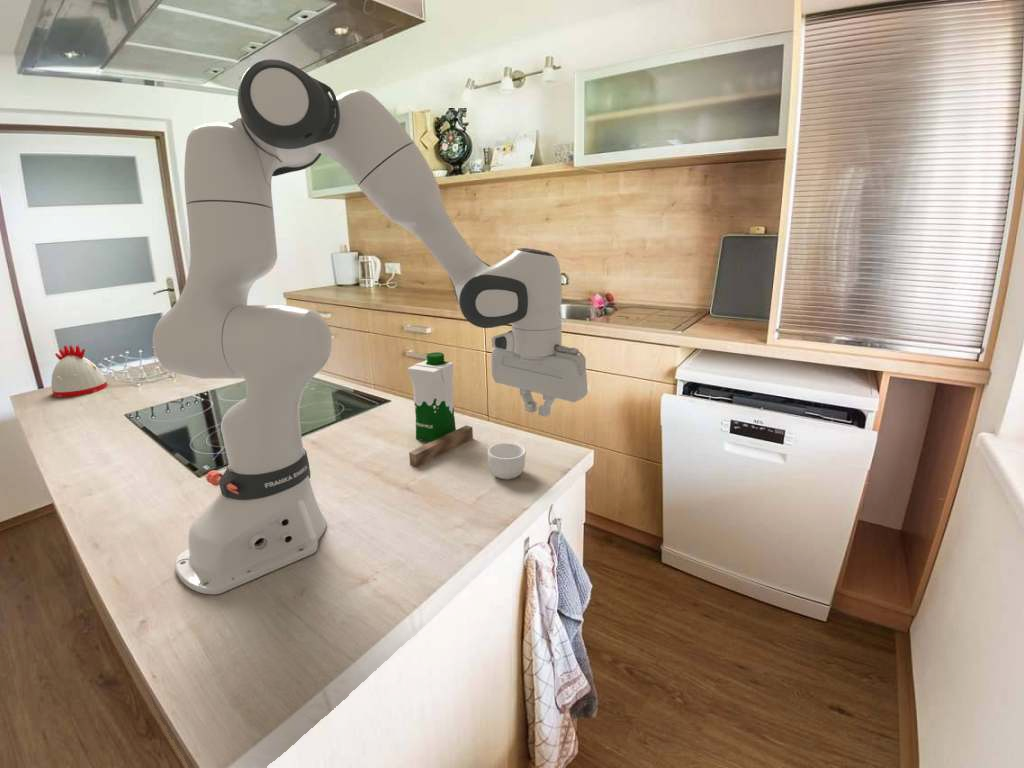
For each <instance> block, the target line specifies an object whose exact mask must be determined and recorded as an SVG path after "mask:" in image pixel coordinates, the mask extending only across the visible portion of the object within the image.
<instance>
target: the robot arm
mask: <svg viewBox="0 0 1024 768" xmlns="http://www.w3.org/2000/svg"><path fill="white" fill-rule="evenodd" d="M329 93H330V94H329ZM237 106H238V110H239V113H240V116H241V117H238V118H236V119H235V120H234V121H231V122H228V123H225V122H224V123H223V122H209V123H203V124H201V125H198V126H197V127H195V128H194V129H192V130H191V131H190V133H189V134H188V136H187V139H186V146H185V153H184V166H183V167H184V169H183V170H184V171H183V172H184V178H183V179H184V180H183V181H184V197H185V205H186V206H185V207H186V217H187V223H188V224H187V226H188V237H189V256H190V258H189V267H188V274H187V278H186V281H185V284H184V287H183V289H182V292H181V294H180V296H179V297H178V299H177V301H176V302H175V304H173V306H172V307H171V308H170V309H169V310H168V311H167V312H165V314H163V315H162V316H161V317H160V318H159V320H158V321H157V322H156V325H155V327H154V330H153V333H152V347H153V352H154V354H155V357H156V359H157V361H159V363H160V364H161V366H162V367H163V368H165V369H166V370H167V371H168V372H170V373H173V374H178V375H182V376H186V377H191V378H198V379H203V380H204V379H205V380H206V379H207V380H212V379H215V380H216V379H217V380H218V379H219V380H220V379H232V380H233V379H237V380H238V379H242V380H245V384H246V397H245V398H243V399H241V400H240V401H238V402H236V403H235V404H234V405H232V406H231V407H229V409H228V410H227V411H226V412H225V414H224V416H223V417H222V420H221V424H220V431H221V434H222V435H221V436H222V440H223V444H224V448H225V453H226V458H227V462H228V464H227V467H226V470H225V471H224V472H223V473H220V472H219V471H218V470H214V469H213V470H210V471H209V472H207V474H206V475H205V480H206V482H207V483H209V484H211V485H212V486H217V487H218V486H219V489H220V493H219V494H218V495H216V497H215V498H214V500H212V502H211V503H210V504H209V505H208V506H207V507H206V508H205V510H204V511H203V512H202V513H201V514H199V516H198V517H197V518H196V519H195V520H194V521H193V522H192V524H191V526H190V528H189V533H188V548H187V549H186V550H184V551H182V552H181V553H180V554H178V555H177V557H176V560H175V565H174V566H175V571H176V575H177V577H178V578H179V580H180V581H181V582H182V583H183V584H184V585H186V586H187V588H189V589H191V590H193V591H195V592H197V593H200V594H206V595H220V594H222V593H225V592H228V591H229V590H232V589H234V588H236V587H237V588H238V587H239V586H241V585H244V584H246V583H248V582H250V581H253V580H255V579H257V578H259V577H262V576H264V575H266V574H269V573H271V572H273V571H275V570H279V569H280V568H284V567H285V566H288V565H290V564H292V563H294V562H297V561H299V560H301V559H304V558H306V557H308V556H311V555H313V554H314V553H316V552H317V550H318V549H319V548H318V547H319V540H320V538H321V537H322V535H323V534H324V532H325V531H326V527H327V520H326V518H325V516H324V515H323V512H322V511H321V510H320V507H319V505H318V503H317V502H318V501H317V500H316V496H315V493H314V491H313V488H312V483H311V480H310V479H311V469H310V463H309V462H310V461H309V457H308V453H307V449H305V448H304V445H303V440H302V439H303V437H302V430H301V422H300V421H301V420H300V404H301V401H302V396H303V393H304V391H305V388H306V387H307V385H308V384H309V382H310V381H311V380H312V378H313V377H315V376H316V375H317V374H318V373H319V372H321V371H322V370H323V368H324V367H325V366H326V365H327V363H328V361H329V360H330V358H331V354H332V350H333V336H332V332H331V330H330V329H331V328H330V326H329V325H328V323H327V321H326V320H325V318H324V317H323V316H322V315H321V314H320V313H319V312H318V311H316V310H314V309H309V308H304V307H298V306H293V305H288V304H263V305H262V304H257V305H256V304H254V305H252V304H251V305H248V298H249V297H248V296H249V293H250V290H251V289H252V287H253V285H254V283H255V282H256V281H257V280H259V279H261V278H262V277H264V276H266V275H268V273H270V272H271V271H272V270H273V269H274V267H275V265H276V262H277V259H278V247H277V239H276V238H277V237H276V228H275V216H274V206H273V196H272V178H273V177H277V176H281V175H285V174H289V173H293V172H298V171H302V170H305V169H308V168H309V167H312V166H314V165H315V163H316V162H317V161H318V160H319V159H320V157H321V156H322V155H323V156H326V157H329V158H330V159H333V160H334V161H336V162H337V163H338V164H339V165H341V166H342V167H343V168H344V169H345V170H346V171H347V172H348V174H349V175H350V177H351V179H352V180H353V181H354V182H355V184H356V185H357V186H358V187H359V189H360V190H361V192H363V194H364V195H365V196H366V197H367V199H368V200H369V201H370V202H371V203H372V204H373V205H374V206H375V207H376V209H378V210H379V212H381V213H382V214H383V215H385V216H386V217H387V218H388V219H389V220H390V221H391V222H393V223H394V224H397V225H398V226H400V227H402V228H403V229H405V230H407V231H408V232H410V233H411V234H412V235H413V236H415V237H416V238H418V240H420V241H421V242H422V243H423V245H424V246H425V247H426V248H427V249H428V250H429V252H430V253H431V254H432V256H433V257H434V259H435V260H436V261H437V263H438V264H439V265H440V266H441V267H442V269H443V270H444V271H445V273H446V274H447V276H448V277H449V279H450V280H451V282H452V285H453V291H454V296H455V298H456V301H457V304H458V306H459V308H460V311H461V313H462V316H463V318H465V319H466V321H467V322H469V324H471V325H473V326H474V327H478V328H482V329H491V328H496V327H502V326H506V325H510V324H511V327H512V328H511V330H509V331H507V332H504V333H500V334H496V335H495V336H493V337H491V347H492V348H494V349H492V352H491V360H490V363H491V365H490V366H491V367H490V368H491V376H492V378H493V380H494V381H495V383H498V384H501V385H505V386H508V387H512V388H517V389H519V395H520V396H521V399H522V401H523V402H524V410H525V412H528V413H534V412H536V411H537V409H538V415H539V416H542V417H548V416H550V415H551V406H552V405H553V403H554V402H555V400H556V399H559V400H563V401H567V402H570V403H576V402H579V401H581V400H583V399H584V398H585V397H586V396H587V395H588V377H587V367H586V365H587V363H586V361H587V360H586V357H585V355H584V354H583V353H582V352H581V351H580V350H579V349H578V348H576V347H568V346H565V345H562V343H563V341H562V336H563V335H562V332H563V331H562V330H563V327H562V326H563V325H562V319H561V315H560V309H561V305H562V300H563V297H562V296H563V295H562V289H563V288H562V287H563V285H562V273H561V266H560V262H559V260H558V258H557V257H556V255H554V254H552V253H550V252H548V251H544V250H540V249H535V248H527V247H524V248H523V247H520V248H517V249H514V251H513V252H511V254H509V255H508V256H507V257H505V258H503V259H502V260H500V261H498V262H496V263H494V264H493V265H490V264H489V263H487V262H485V261H483V260H482V259H481V258H480V257H478V256H477V254H476V253H475V252H474V250H472V248H471V247H470V246H469V244H468V243H467V242H466V240H465V239H464V237H463V236H462V234H461V233H460V231H459V230H458V229H457V227H456V226H455V225H454V223H453V221H452V219H451V218H450V216H449V215H448V214H449V213H448V212H447V210H446V207H445V205H444V204H445V203H444V201H443V198H442V193H441V190H440V189H441V188H440V187H439V184H438V181H437V179H436V177H435V175H434V173H433V170H432V169H431V167H430V164H429V163H428V161H427V159H426V158H425V156H424V155H423V152H422V151H421V150H420V148H419V147H418V146H417V144H416V143H415V141H414V140H413V139H412V138H411V135H409V134H408V131H406V130H405V128H404V127H403V126H402V125H401V123H400V122H399V121H398V120H397V119H396V118H395V116H394V115H393V114H392V113H391V112H390V111H389V110H388V109H387V108H386V107H385V105H383V104H382V103H381V102H380V101H379V100H378V99H377V97H375V96H374V95H373V94H371V93H370V92H368V91H365V90H361V89H353V90H348V91H346V92H343V93H341V94H340V95H338V96H336V94H335V91H334V89H332V88H331V86H329V85H328V84H326V83H324V82H322V81H319V79H316V78H314V77H313V76H311V75H309V74H308V73H307V72H305V71H304V70H302V69H300V68H299V67H298V66H295V65H294V64H292V63H289V62H286V61H283V60H280V59H272V58H271V59H264V60H260V61H258V62H255V63H254V64H253V65H251V66H250V67H249V68H247V70H246V71H245V73H244V74H243V75H242V77H241V80H240V82H239V86H238V90H237ZM532 393H537V394H540V395H542V400H544V402H543V404H542V405H539V406H538V405H537V404H538V402H537V401H535V400H534V398H533V396H532ZM537 406H538V407H537Z"/></svg>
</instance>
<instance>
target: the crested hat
mask: <svg viewBox="0 0 1024 768" xmlns="http://www.w3.org/2000/svg"><path fill="white" fill-rule="evenodd" d="M58 351H59V353H60V354H61V355H60V354H59V353H55V354H54V355H55V356H56V358H57V359H58V360H59V361H58V362H56V363H57V364H55V366H54V368H53V371H52V375H51V385H50V386H51V391H52V394H53V396H54V397H56V398H70V397H79V396H85V395H88V394H93V393H96V392H100V391H102V390H104V389H105V388H107V387H108V382H107V379H106V377H105V375H104V374H103V373H102V371H101V370H100V368H99V367H98V366H97V365H96V364H95V363H94V362H92V361H91V360H89V359H88V358H86V357H84V355H85V351H86V348H82V350H81V348H80V346H79V345H76V347H75V349H74V347H73V345H71V344H70V345H69V348H68V346H67V345H64V346H63V349H61V348H60V349H59V350H58Z"/></svg>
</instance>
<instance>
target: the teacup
mask: <svg viewBox="0 0 1024 768" xmlns="http://www.w3.org/2000/svg"><path fill="white" fill-rule="evenodd" d="M526 453H527V450H526V448H525V447H524V446H523V445H521V444H518V443H514V442H499V443H495V444H493V445H491V446H489V447H487V448H486V450H485V454H486V456H487V459H488V460H487V461H488V466H489V470H490V472H491V473H492V474H493V476H495V477H496V478H499V479H501V480H512V479H515V478H517V477H519V476H521V474H522V472H523V471H524V469H525V466H526V465H525V464H526Z"/></svg>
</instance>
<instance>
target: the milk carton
mask: <svg viewBox="0 0 1024 768" xmlns="http://www.w3.org/2000/svg"><path fill="white" fill-rule="evenodd" d="M407 371H408V373H409V377H410V379H411V382H412V383H411V384H412V390H413V399H414V400H413V402H414V403H413V404H414V413H415V439H416V440H420V441H424V442H428V443H430V442H432V441H434V440H436V439H438V438H440V437H442V436H445V435H447V434H449V433H451V432H453V431H455V430H457V429H456V419H455V409H454V408H455V407H454V392H453V373H454V362H450V361H445V354H444V353H443V352H430V353H427V354H426V360H423V361H420V362H418V363H414V364H413V365H412V366H409V367H407Z"/></svg>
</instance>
